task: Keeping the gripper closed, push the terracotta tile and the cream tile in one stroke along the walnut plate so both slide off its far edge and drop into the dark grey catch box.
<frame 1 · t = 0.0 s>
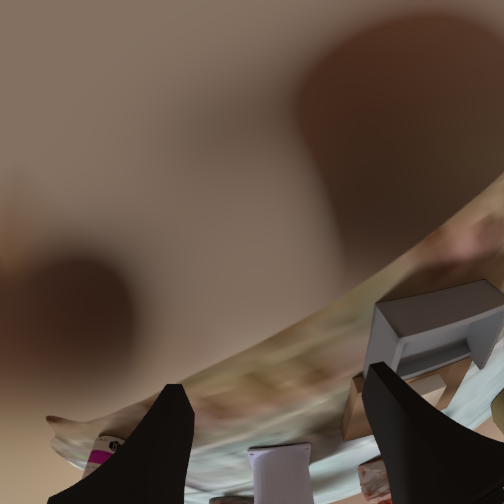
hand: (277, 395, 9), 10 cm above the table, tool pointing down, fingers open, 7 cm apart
food item: (379, 464, 34), on the table
supplement can: (122, 446, 30), on the table
lantern: (235, 501, 39), on the table
catch box: (429, 328, 21), on the table
tile cream: (418, 390, 22), point 2 cm above the table, touching walnut plate
walnut plate: (405, 391, 25), on the table
squeeze bottle: (499, 395, 31), on the table
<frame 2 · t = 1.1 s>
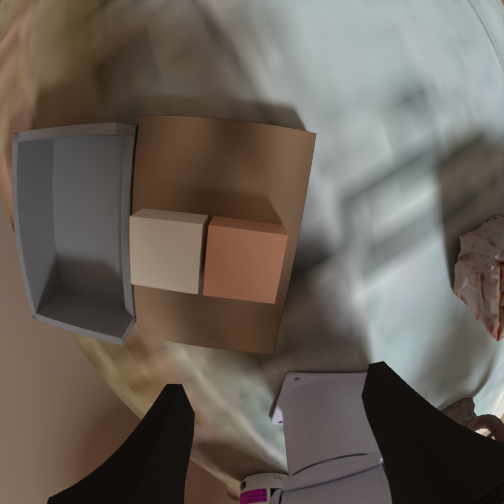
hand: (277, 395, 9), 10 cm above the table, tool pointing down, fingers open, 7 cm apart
tile terracotta: (244, 253, 16), point 2 cm above the table, touching walnut plate
food item: (490, 245, 19), on the table
supplement can: (266, 478, 32), on the table
lantern: (445, 420, 29), on the table
catch box: (91, 221, 18), on the table
tile cream: (172, 244, 16), point 2 cm above the table, touching walnut plate
walnut plate: (214, 238, 18), on the table
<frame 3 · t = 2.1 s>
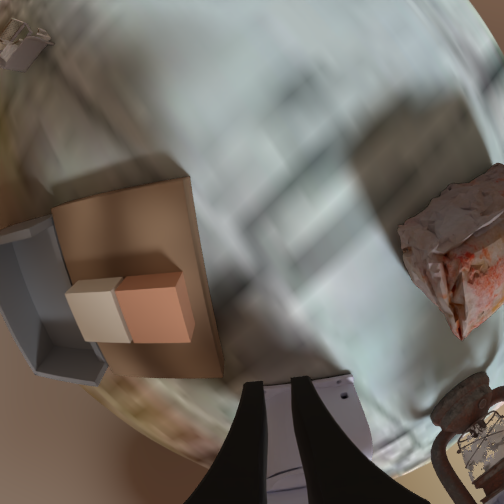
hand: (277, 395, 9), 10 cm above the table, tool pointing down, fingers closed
tile terracotta: (160, 301, 18), point 2 cm above the table, touching walnut plate
food item: (453, 219, 18), on the table
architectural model: (42, 10, 11), on the table
lantern: (459, 397, 28), on the table
catch box: (55, 291, 20), on the table
tile cream: (107, 303, 18), point 2 cm above the table, touching walnut plate
walnut plate: (143, 288, 19), on the table
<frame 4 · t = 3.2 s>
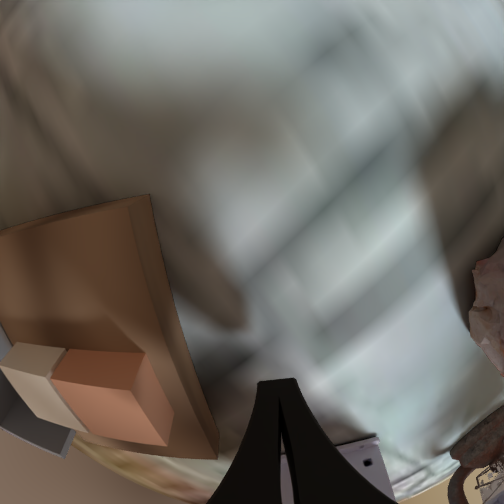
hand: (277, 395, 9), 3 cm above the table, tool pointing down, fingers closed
tile terracotta: (121, 383, 10), point 2 cm above the table, touching walnut plate
lantern: (480, 430, 21), on the table
catch box: (5, 340, 12), on the table
tile cream: (56, 374, 10), point 2 cm above the table, touching walnut plate
walnut plate: (102, 354, 12), on the table
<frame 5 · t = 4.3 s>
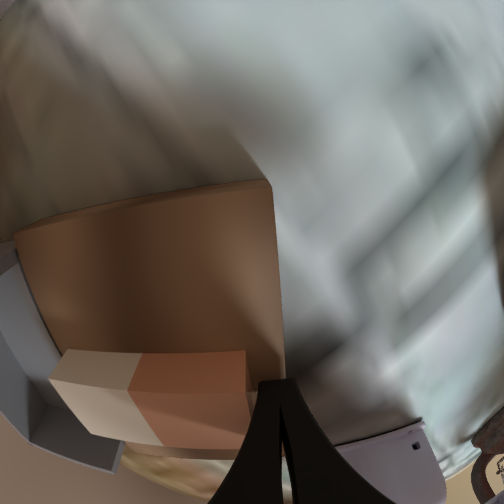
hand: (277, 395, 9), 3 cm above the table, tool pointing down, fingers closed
tile terracotta: (202, 387, 10), point 2 cm above the table, touching gripper, tile cream
lantern: (499, 417, 21), on the table
catch box: (40, 346, 12), on the table
tile cream: (119, 384, 10), point 2 cm above the table, touching tile terracotta
walnut plate: (175, 356, 12), on the table
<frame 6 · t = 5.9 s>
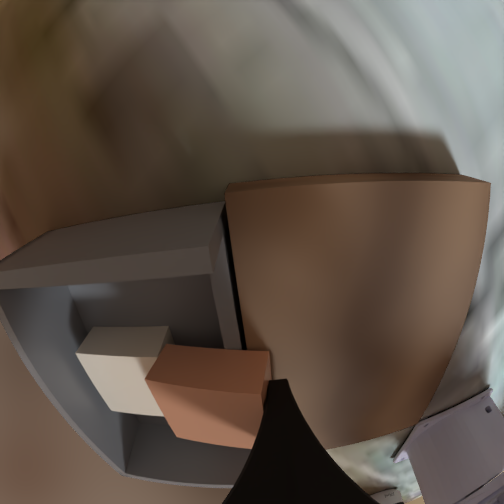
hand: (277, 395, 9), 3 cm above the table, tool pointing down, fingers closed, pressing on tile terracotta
tile terracotta: (223, 383, 10), point 2 cm above the table, tilted 10°, touching catch box, gripper, tile cream
supplement can: (374, 496, 26), on the table
catch box: (161, 353, 12), on the table
tile cream: (141, 359, 12), resting on catch box, touching tile terracotta
walnut plate: (357, 337, 12), on the table
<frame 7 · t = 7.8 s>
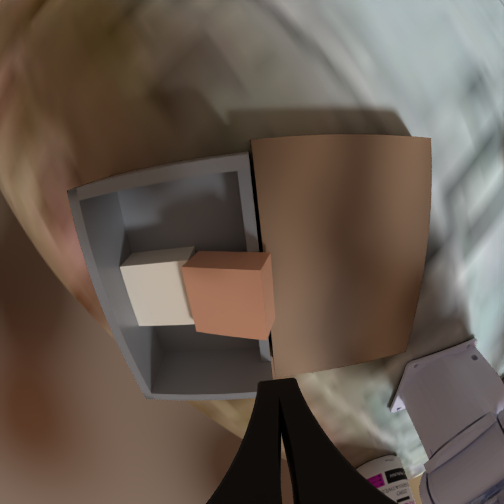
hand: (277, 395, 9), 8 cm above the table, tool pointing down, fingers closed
tile terracotta: (237, 285, 15), point 2 cm above the table, tilted 17°, touching catch box, tile cream
supplement can: (374, 464, 31), on the table
catch box: (193, 272, 17), on the table
tile cream: (169, 279, 17), resting on catch box, touching tile terracotta
walnut plate: (343, 258, 17), on the table
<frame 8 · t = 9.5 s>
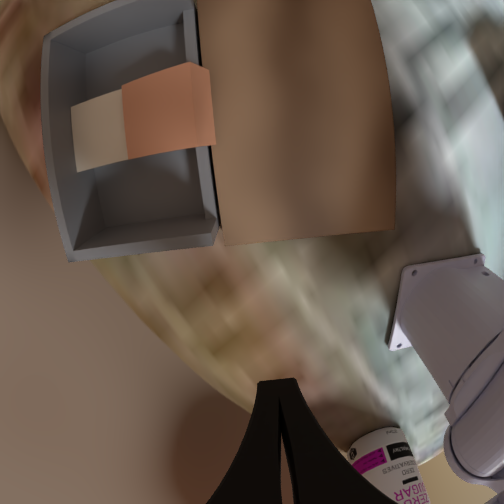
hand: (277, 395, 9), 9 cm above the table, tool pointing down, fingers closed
tile terracotta: (177, 113, 13), point 2 cm above the table, tilted 17°, touching catch box, tile cream
supplement can: (373, 439, 28), on the table
catch box: (140, 122, 14), on the table
tile cream: (116, 130, 14), resting on catch box, touching tile terracotta
walnut plate: (298, 103, 14), on the table
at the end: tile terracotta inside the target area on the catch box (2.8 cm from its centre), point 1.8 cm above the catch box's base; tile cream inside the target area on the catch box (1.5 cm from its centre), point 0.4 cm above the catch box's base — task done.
